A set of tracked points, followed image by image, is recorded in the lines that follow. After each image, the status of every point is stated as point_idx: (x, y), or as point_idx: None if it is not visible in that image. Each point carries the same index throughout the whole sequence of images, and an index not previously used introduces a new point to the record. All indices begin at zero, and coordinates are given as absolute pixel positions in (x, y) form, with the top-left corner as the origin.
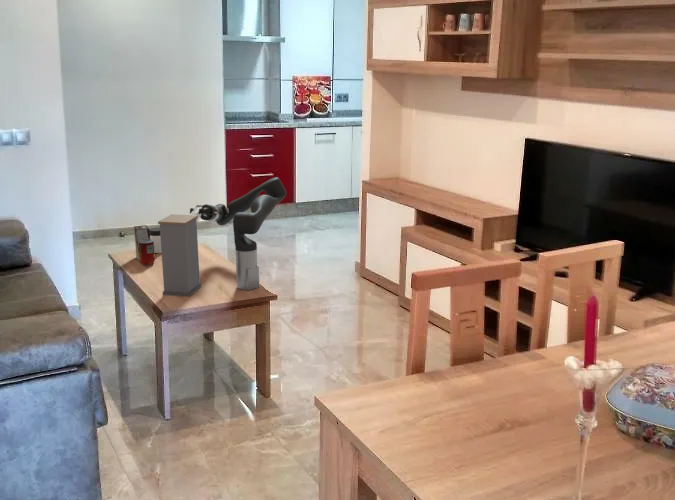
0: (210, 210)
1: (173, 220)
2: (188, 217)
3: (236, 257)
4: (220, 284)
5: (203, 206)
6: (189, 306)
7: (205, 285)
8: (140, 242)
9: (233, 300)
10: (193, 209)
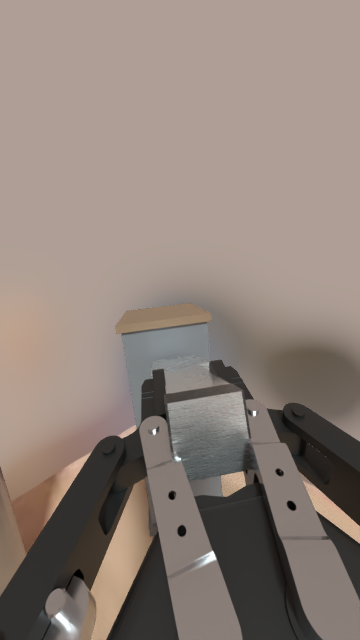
0: (93, 506)
1: (162, 308)
2: (137, 317)
3: (4, 481)
4: (92, 588)
5: (166, 416)
6: (132, 430)
7: (141, 552)
8: None
9: (53, 477)
10: (212, 371)
